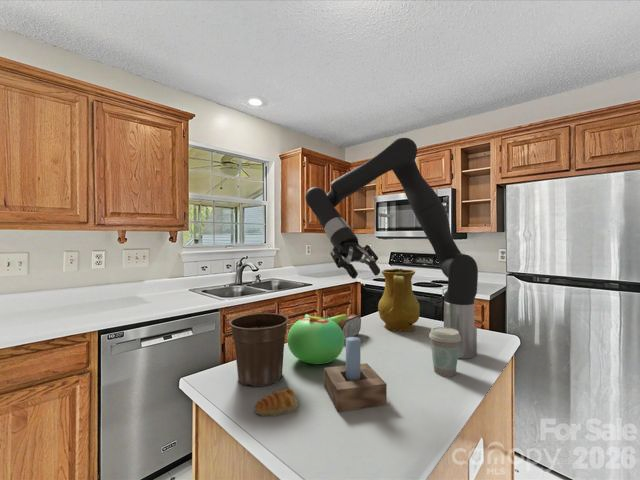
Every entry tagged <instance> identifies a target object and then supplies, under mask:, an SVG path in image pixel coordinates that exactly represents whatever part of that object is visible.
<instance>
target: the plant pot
mask: <svg viewBox="0 0 640 480" xmlns="http://www.w3.org/2000/svg"><path fill="white" fill-rule="evenodd" d="M288 323H289V317H287V316H286V315H285V314H279V313H272V312H262V313H261V312H260V313H251V314H245V315H241V316H237V317H234V318H232V319H231V320H230V321H229V322H228V324H229V326H230V328H231V329H230V330H231V335H232V339H233V343H234V352H235V360H236V361H235V362H236V369H237V380H238V382H239V383H240V384H241V385H245V386H248V385H251V386H252V387H264V386H269V385H272V384H274V383H277V382H278V381H279V380H280V378H282V377H283V365H284V352H285V351H284V350H285V341H286V340H285V339H286V335H287V327H288Z"/></svg>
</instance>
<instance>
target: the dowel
mask: <svg viewBox="0 0 640 480" xmlns="http://www.w3.org/2000/svg"><path fill="white" fill-rule="evenodd" d="M360 364H361V338H360V337H357V336H355V337H348V338H346V341H345V366H346V381H356V380H360Z"/></svg>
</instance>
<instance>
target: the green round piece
mask: <svg viewBox="0 0 640 480" xmlns="http://www.w3.org/2000/svg"><path fill="white" fill-rule="evenodd" d="M347 316H348V314H347V313H346V314H345V313H344V314H339V315H334V316H331V317H328V318H327V317H323V316H315V315H309V314H307V313H306V314H305V315H304V317H303V318H300V319H299V320H297V321H295V322H294V323H293V324H292V326H291V327H290V329H289V331H288V334H287V337H286V338H287V346H288V349H289V351H290V352H291V354H292V355H293V356H294V357H295V358H296V359H298V360H299V361H302V362H303V363H307V364H311V365H321V364H327V363H330V362H332V361H335V360H336V359H337V358H338V357H339V356H340V355H341V353H342V351H343V350H344V346H345V341H344V334H343V332H342V330H341V328H340V327H339V326H338V323H339V322H340V321H342V320H343V319H344V318H346V317H347Z"/></svg>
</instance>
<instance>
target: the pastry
mask: <svg viewBox="0 0 640 480" xmlns="http://www.w3.org/2000/svg"><path fill="white" fill-rule="evenodd" d="M298 408H299V405H298V400H297V397H296V393H295V391H294V389H293V388H292V389H291V388H290V387H289V388H287V389H283V390H282V389H280V390H274V391H272V393H270V394H268V395H267V396H264V397H263V398H261V399H259V400H258V401H257V402H256V403H255V406H254V411H255V413H256V414H258V415H260V416H263V417H267V416H274V415H277V416H280V415H284V414H283V413H285V414H289V412H290V413H293V412H295V411H297V409H298ZM279 414H280V415H279Z"/></svg>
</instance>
